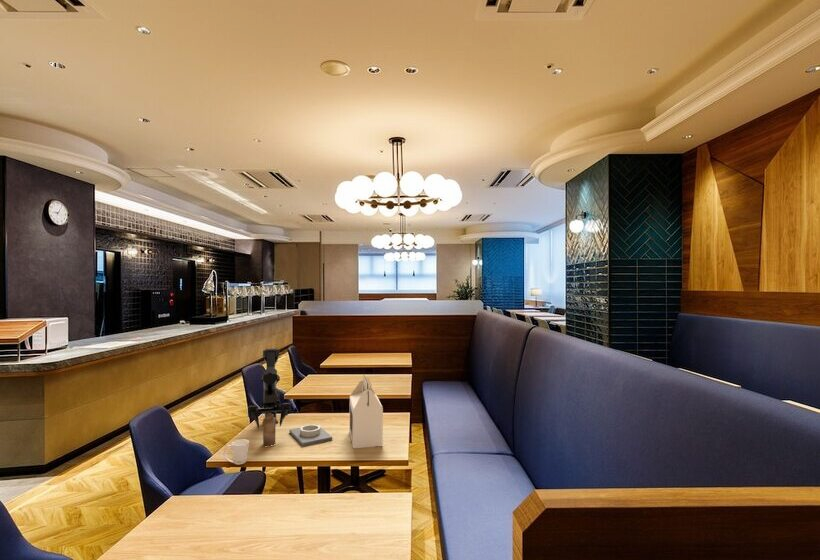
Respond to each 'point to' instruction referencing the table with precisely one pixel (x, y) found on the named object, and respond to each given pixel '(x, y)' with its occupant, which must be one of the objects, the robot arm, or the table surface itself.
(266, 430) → the pepper mill
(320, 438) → the caddy board
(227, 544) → the table surface
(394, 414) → the table surface
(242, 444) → the cup
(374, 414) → the gable box
